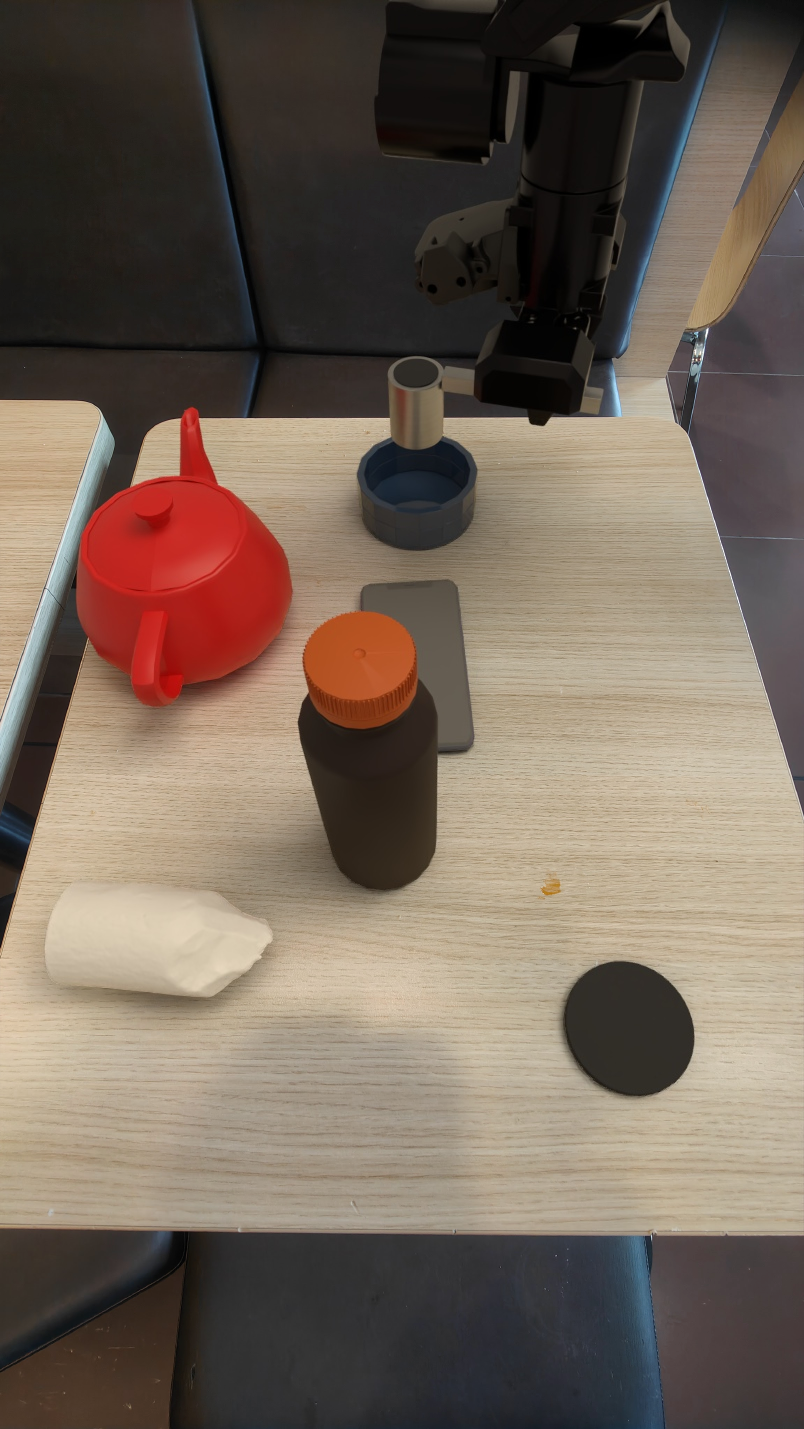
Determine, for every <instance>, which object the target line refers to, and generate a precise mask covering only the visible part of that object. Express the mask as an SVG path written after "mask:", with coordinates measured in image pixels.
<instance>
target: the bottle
mask: <svg viewBox="0 0 804 1429" xmlns="http://www.w3.org/2000/svg"><path fill="white" fill-rule="evenodd" d="M301 658H302V660H301V662H302V670H303V674H304V678H305V683H306V685H307V690H308V692H307V694H306V696H305V697H304V699H303V700H302V702H301V705H300V710H299V714H298V718H297V727H298V728H297V729H298V734H299V742H300V745H301V749H302V753H303V757H304V760H305V763H306V767H307V771H308V774H309V778H310V782H311V785H312V789H313V792H314V796H315V799H316V803H317V806H318V810H319V814H320V817H321V821H322V824H323V828H324V832H325V835H326V839H327V842H328V846H329V849H330V854H331V856H332V859H333V860H334V862H335V864H336V866H337V868H338V870H339V871H340V872H341V873H342V874H343V875H344V876H345V877H346V878H347V879H348V880H350V882H352V883H354V884H356V885H358V886H361V887H363V888H365V889H368V890H374V891H375V890H376V891H384V892H385V891H386V892H387V891H390V890H395V889H400V888H403V887H405V886H406V885H408V884H411V883H412V882H414V881H415V880H417V879H418V878H419V877H420V876H421V875H422V874H423V873H424V872H425V871H426V870H427V868H429V866H430V863H431V862H432V859H433V857H434V855H435V854H436V847H437V838H438V773H439V772H438V766H439V764H438V760H439V758H438V757H439V752H438V714H437V711H436V707H435V703H434V699H433V696H432V695H431V694H430V692H429V691H428V689H427V688H426V686H425V685H424V684H423V682H422V681H421V680H420V679H418V674H417V652H416V645H415V643H414V641H413V637H411V634H409V631H406V627H405V628H404V627H403V625H400V623H399V622H396V619H395V620H393V619H392V617H391V618H390V617H388V615H387V616H384V614H379V613H376V612H370V611H369V612H365V611H364V612H363V611H361V610H358V611H357V610H355V611H353V612H352V611H349V612H345V613H340V614H339V615H336V616H335V617H331V618H330V619H329V618H328V619H327V620H326V621H324V622H323V623H322V624H320V626H319V627H318V626H317V627H316V630H313V633H310V637H308V640H306V644H304V648H303V652H302V656H301Z"/></svg>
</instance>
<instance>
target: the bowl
mask: <svg viewBox="0 0 804 1429" xmlns="http://www.w3.org/2000/svg"><path fill="white" fill-rule="evenodd" d="M478 470H479V469H478V467H477V464H476V461H475V459H474V457H473V455H472V452H470V451H469V450H468V449H467V448H466V447H464V446H463V445H462V444H461V443H460V442H459V441H457V440H454V439H451V438H449V437H446V436H444V435H443V436H442V438H441V439H440V441H439V442H438V443H436V444H435V445H433V446H431V447H429V448H426V449H420V450H413V449H407V448H404V447H401V446H399V445H398V444H396V443H395V442H394V440H393V439H392V437H391V436H390V437H388V438H386V439H383V440H381V441H379V442H377V443H375V444H373V446H372V447H371V448H370V449H368V451H366V453H365V454H364V455H363V456H361V458H360V461H359V465H358V468H357V471H356V484H357V493H358V503H359V509H360V514H361V519H362V522H363V525H364V526H365V528H366V529H367V530H368V532H369V533H370V534H371V535H372V536H373V537H375V539H377V540H379V541H380V542H382V543H384V544H385V545H388V546H390V547H393V548H397V549H400V550H401V549H402V550H407V551H425V550H432V549H436V548H440V547H442V546H443V547H444V546H445V545H448V544H450V543H452V542H454V541H455V540H457V539H459V537H461V536H462V535H463V534H465V532H467V530H468V528H469V527H470V526H471V524H472V522H473V520H474V516H475V509H476V503H477V488H478V474H479V471H478Z"/></svg>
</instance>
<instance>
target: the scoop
mask: <svg viewBox="0 0 804 1429" xmlns="http://www.w3.org/2000/svg"><path fill="white" fill-rule="evenodd" d="M474 373H475V369H471V368H463V367H456V366H449V365H445V367H444V368H443V366H442V364H441V363H439V362H438V361H437V360H435V359H433V358H429V357H426V356H421V355H420V356H417V355H415V356H407V357H402V358H401V359H399V360H398V359H397V361H395V362H394V363H392V364H391V366H390V367H389V368H388V371H387V390H388V408H389V409H388V410H389V412H388V413H389V428H390V429H389V430H390V437H392V439H393V440H394V442H395V443H396V444H398V445H399V446H401V447H404V448H407V449H413V450H420V449H426V448H429V447H431V446H433V445H435V444H436V443H438V442H439V441H440V439H441V438H442V436H444V419H445V418H444V417H445V416H444V413H445V411H444V410H445V392H447V393H452V394H460V395H468V396H473V397H475V396H474V395H473V392H474ZM604 391H605V390H604V388H600V387H594V386H593V387H592V386H588V385H587V386H586V390H585V393H584V397H583V401H582V405H581V409H580V411H579V412H578V413H583V414H584V413H585V414H592V415H599V413H600V409H601V405H602V400H603V396H604Z"/></svg>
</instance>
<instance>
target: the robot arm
mask: <svg viewBox="0 0 804 1429" xmlns="http://www.w3.org/2000/svg"><path fill="white" fill-rule="evenodd" d="M651 8H652V10H651V11H650V12H649V13H648V14H646V15H644V16H643V17H642V18H640V19H638V20H630V19H625V18H628V17H631V16H633V15H636V14H638V13H640V12H643V11H646V10H648V9H651ZM671 8H672V7H671V3H670V0H388V2H387V3H386V5H385V6H384V11H385V12H384V13H385V14H384V15H385V35H384V39H383V43H382V49H381V52H380V60H379V71H378V82H377V92H376V93H375V95H374V99H373V111H374V112H373V113H374V124H375V134H376V139H377V144H378V146H379V147H378V148H379V150H380V152H381V154H382V155H383V157H386V158H395V159H408V160H409V159H410V160H418V161H419V160H421V161H429V162H439V163H452V164H463V165H464V164H465V165H475V166H486V165H487V164H488V163H489V160H490V159H491V158H492V156H493V151H494V145H495V142H496V143H497V144H501V145H509V144H510V142H511V139H512V135H513V132H514V129H515V128H514V127H515V123H516V117H517V110H518V105H519V104H518V103H519V93H520V82H521V73H527V81H526V92H525V93H526V94H525V104H524V105H525V106H524V116H523V117H524V118H523V129H522V139H521V150H520V152H521V153H520V154H521V155H520V162H519V163H520V164H519V173H518V174H519V176H518V179H517V181H516V189H515V193H514V196H513V197H510V198H505V199H502V200H491V201H487V202H484V203H481V204H477V205H474V206H473V205H472V206H470V207H466V208H463V209H460V210H456V211H454V212H453V211H452V212H450V213H446V214H443V215H441V216H439V217H436V218H435V219H434V220H432V221H431V222H430V223H429V224H428V225H427V226H426V228H425V230H424V232H423V234H422V235H421V236H422V237H421V239H420V240H419V242H418V244H417V245H416V247H415V250H414V256H415V259H414V262H413V265H414V268H415V272H416V278H415V279H414V288H415V289H416V291H418V292H419V293H421V294H425V297H426V299H427V301H428V302H429V303H431V304H432V305H433V306H437V307H440V306H445V305H449V304H450V303H453V302H457V301H462V300H466V299H468V298H469V297H470V296H474V295H477V294H482V293H486V292H489V291H491V290H493V289H495V288H497V289H496V303H499V304H506V305H509V310H510V311H511V312H512V313H513V315H514V316H515V318H516V319H517V320H512V319H503V320H502V321H501V322H499V323H498V324H497V325H495V326H494V327H492V328H491V329H490V330H489V331H488V332H487V333H486V336H485V338H484V342H483V343H482V347H481V349H480V352H479V354H478V357H477V360H476V362H475V365H474V370H475V373H474V392H473V395H474V396H473V397H474V398H475V399H476V400H478V402H480V403H481V404H487V405H488V404H489V405H494V406H495V405H496V406H502V407H507V408H508V407H509V408H514V409H515V408H516V409H522V410H526V413H527V418H528V423H529V425H530V426H531V425H532V426H538V427H545V426H546V425H547V424H548V422H549V421H550V419H551V418H552V417H553V415H554V414H556V415H562V416H571V415H573V414H576V413H580V412H579V411H580V409H581V405H582V401H583V397H584V393H585V390H586V386H587V387H588V380H589V376H590V372H591V368H592V367H591V366H592V362H593V358H594V354H595V350H596V346H597V341H596V340H592V339H593V337H594V335H595V334H596V332H597V331H598V328H599V327H600V325H601V323H602V321H603V319H604V314H605V311H606V308H607V304H608V296H607V294H605V290H606V286H607V283H608V279H609V275H610V272H611V271H617V267H618V263H619V259H620V255H621V252H622V246H623V242H624V237H625V231H626V228H627V227H626V226H627V221H626V219H625V218H624V216H623V215H622V213H621V209H622V206H623V201H624V197H625V194H626V188H627V183H628V178H629V174H628V170H629V164H630V159H631V152H632V148H633V144H634V143H633V142H634V138H635V132H636V128H637V127H636V126H637V121H638V116H639V112H640V105H641V102H642V101H641V100H642V96H643V90H644V85H645V82H653V83H664V84H666V83H667V84H678V83H679V82H681V81H682V80H683V78H684V77H685V74H686V70H687V66H688V65H687V64H688V60H689V56H690V55H689V54H690V49H691V41H690V39H689V37H688V36H687V35H686V34H685V32H684V31H683V30H682V28H681V27H680V26H679V24H678V23H677V22H676V20H675V18H674V16H673V12H672V9H671ZM572 25H574V26H576V27H579V29H578V33H573V34H563V35H559V34H561V33H562V32H564V31H565V30H566V29H567V28H568V27H570V26H572Z"/></svg>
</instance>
